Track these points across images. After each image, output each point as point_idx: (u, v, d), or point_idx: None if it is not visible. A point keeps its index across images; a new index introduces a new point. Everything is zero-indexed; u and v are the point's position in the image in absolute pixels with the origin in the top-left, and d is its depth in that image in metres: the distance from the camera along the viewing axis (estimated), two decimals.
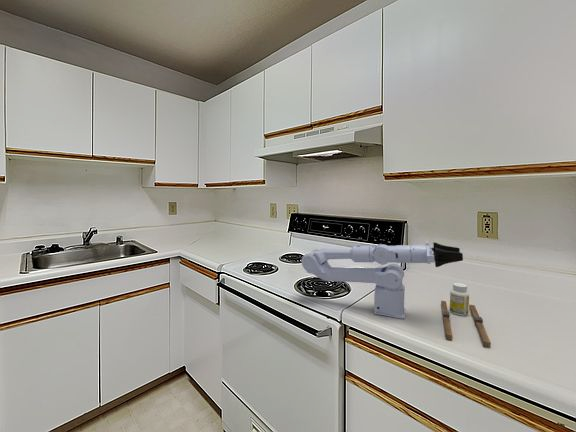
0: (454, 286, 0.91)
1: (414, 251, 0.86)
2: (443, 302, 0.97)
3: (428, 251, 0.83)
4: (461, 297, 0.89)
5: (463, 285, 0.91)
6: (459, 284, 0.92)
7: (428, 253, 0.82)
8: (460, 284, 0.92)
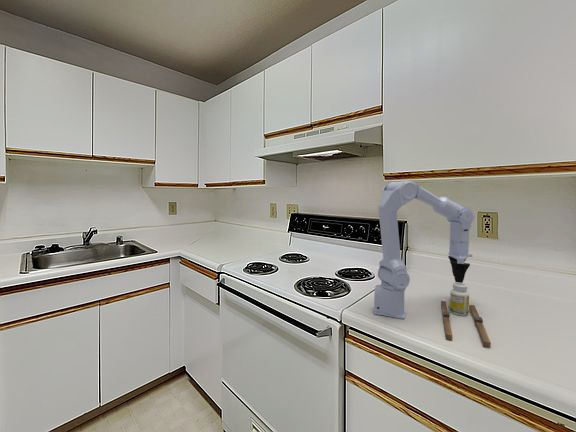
0: (454, 286, 0.91)
1: (464, 245, 0.94)
2: (443, 302, 0.97)
3: (465, 258, 0.92)
4: (462, 297, 0.89)
5: (463, 285, 0.91)
6: (459, 284, 0.92)
7: (464, 258, 0.91)
8: (460, 284, 0.92)
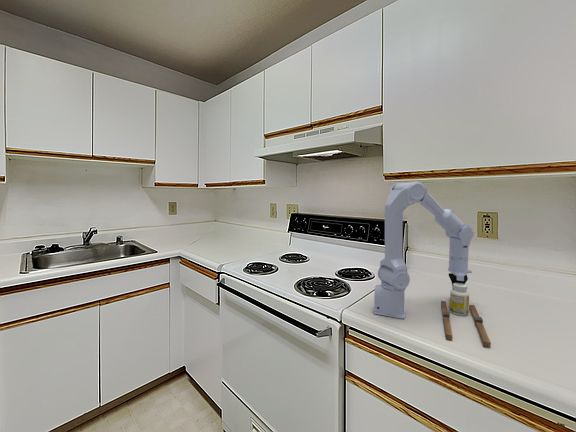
0: (454, 286, 0.91)
1: (463, 262, 0.94)
2: (443, 302, 0.97)
3: (465, 274, 0.93)
4: (461, 297, 0.89)
5: (463, 285, 0.91)
6: (459, 284, 0.92)
7: (464, 275, 0.92)
8: (460, 284, 0.92)
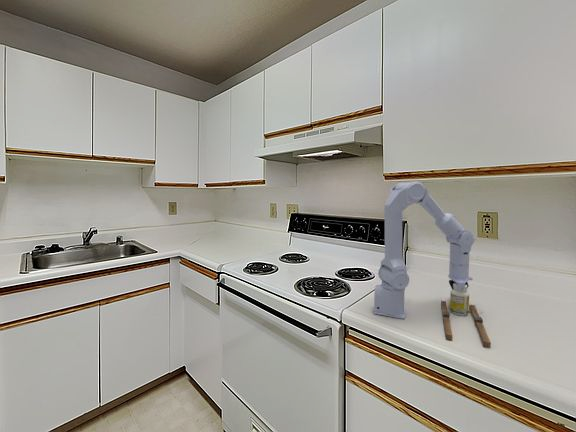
0: (454, 286, 0.91)
1: (464, 268, 0.92)
2: (443, 302, 0.97)
3: (465, 282, 0.91)
4: (462, 297, 0.89)
5: None
6: None
7: (465, 282, 0.90)
8: None
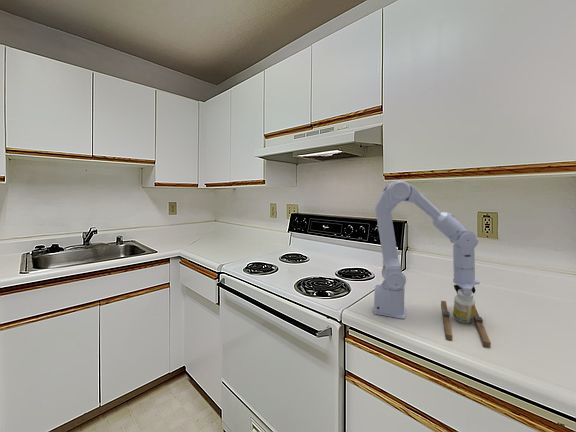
0: (458, 294, 0.84)
1: (470, 272, 0.85)
2: (443, 302, 0.97)
3: (472, 286, 0.83)
4: (465, 306, 0.82)
5: None
6: None
7: (471, 287, 0.82)
8: None
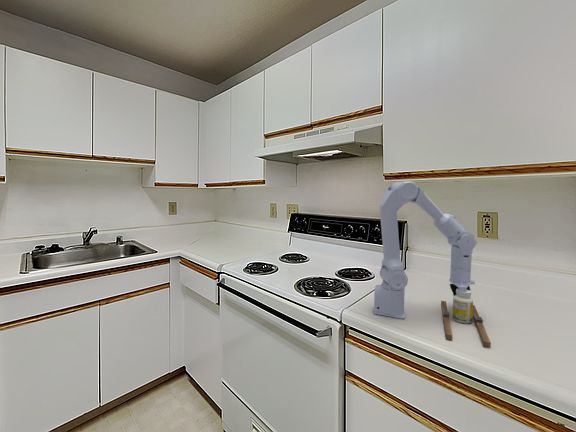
0: (457, 292, 0.86)
1: (466, 272, 0.88)
2: (443, 302, 0.97)
3: (467, 286, 0.87)
4: (464, 303, 0.84)
5: (467, 291, 0.85)
6: None
7: (466, 287, 0.86)
8: None
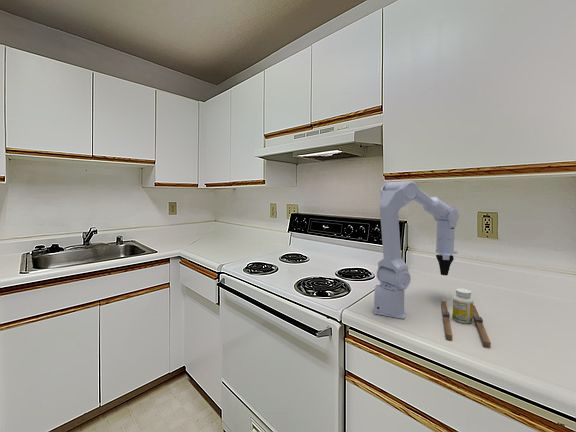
0: (457, 292, 0.86)
1: (449, 242, 0.99)
2: (443, 302, 0.97)
3: (450, 254, 0.98)
4: (464, 303, 0.84)
5: (467, 291, 0.85)
6: (462, 290, 0.86)
7: (450, 255, 0.97)
8: (464, 290, 0.86)
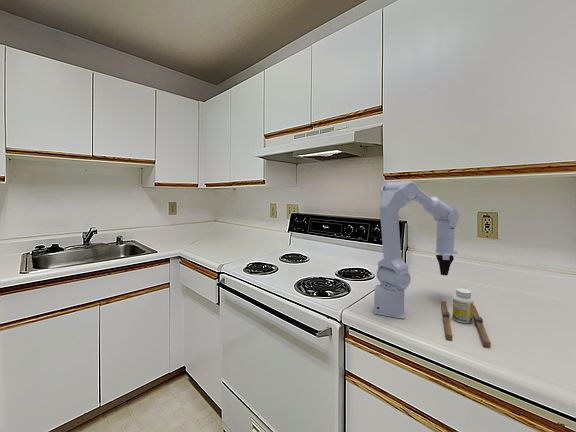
0: (457, 292, 0.86)
1: (449, 242, 0.99)
2: (443, 302, 0.97)
3: (450, 254, 0.98)
4: (465, 303, 0.84)
5: (467, 291, 0.85)
6: (463, 290, 0.86)
7: (450, 255, 0.97)
8: (464, 290, 0.86)
